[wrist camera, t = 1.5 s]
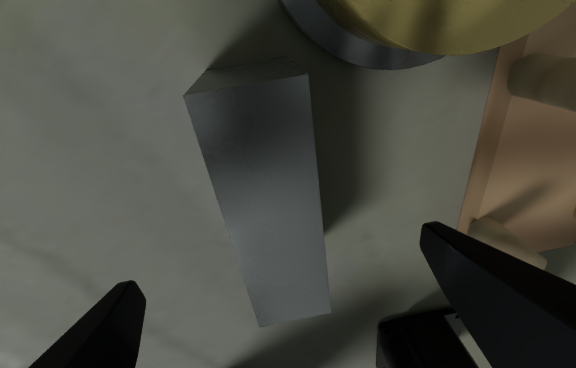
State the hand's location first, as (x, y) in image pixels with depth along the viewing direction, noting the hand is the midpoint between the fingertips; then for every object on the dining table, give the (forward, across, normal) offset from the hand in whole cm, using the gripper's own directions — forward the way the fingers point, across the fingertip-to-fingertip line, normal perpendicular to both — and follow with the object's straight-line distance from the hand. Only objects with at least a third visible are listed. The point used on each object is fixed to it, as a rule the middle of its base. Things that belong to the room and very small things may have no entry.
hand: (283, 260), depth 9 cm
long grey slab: (+6, 0, 0) cm, 6 cm away
